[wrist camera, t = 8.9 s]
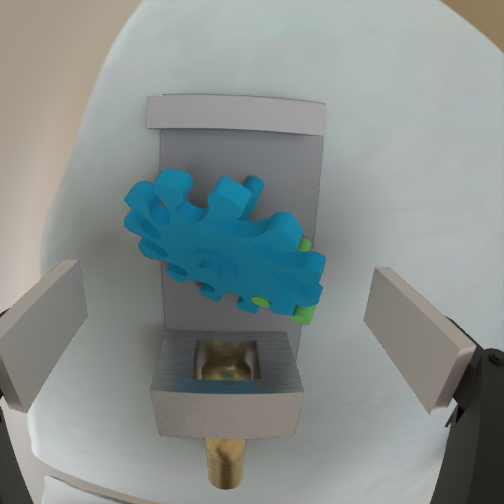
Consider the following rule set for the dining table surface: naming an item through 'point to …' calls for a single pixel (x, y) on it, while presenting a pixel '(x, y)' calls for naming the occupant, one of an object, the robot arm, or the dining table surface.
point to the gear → (227, 244)
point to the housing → (239, 169)
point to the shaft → (225, 450)
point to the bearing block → (226, 386)
